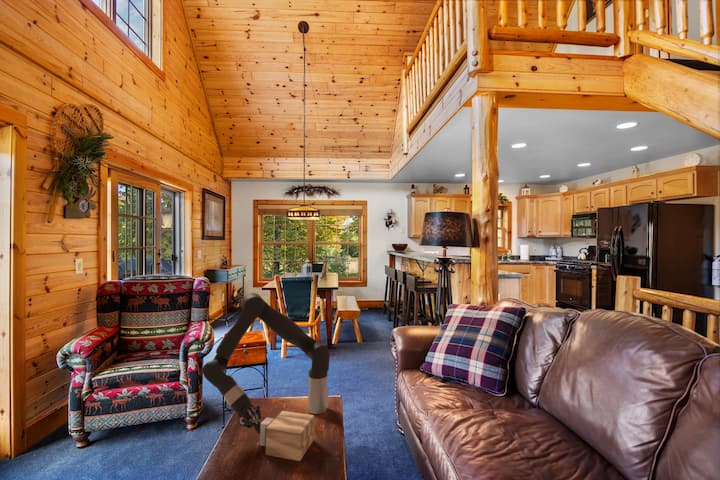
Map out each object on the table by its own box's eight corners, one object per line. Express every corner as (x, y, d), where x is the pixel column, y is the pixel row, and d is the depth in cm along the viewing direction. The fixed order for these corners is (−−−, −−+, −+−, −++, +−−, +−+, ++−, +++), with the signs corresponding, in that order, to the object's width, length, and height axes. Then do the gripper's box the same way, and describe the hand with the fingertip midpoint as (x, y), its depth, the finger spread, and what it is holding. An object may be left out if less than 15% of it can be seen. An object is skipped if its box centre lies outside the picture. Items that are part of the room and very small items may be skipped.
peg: (266, 438, 142) (266, 417, 142) (292, 442, 140) (292, 421, 140) (260, 445, 138) (260, 423, 138) (287, 450, 135) (287, 427, 135)
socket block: (281, 434, 146) (281, 410, 146) (313, 440, 142) (313, 415, 142) (264, 454, 132) (265, 428, 132) (299, 461, 128) (300, 433, 128)
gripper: (233, 400, 136) (259, 435, 133) (251, 386, 149) (276, 418, 146) (221, 411, 137) (247, 446, 134) (240, 397, 150) (264, 428, 147)
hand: (262, 431), depth 140 cm, fingers closed
